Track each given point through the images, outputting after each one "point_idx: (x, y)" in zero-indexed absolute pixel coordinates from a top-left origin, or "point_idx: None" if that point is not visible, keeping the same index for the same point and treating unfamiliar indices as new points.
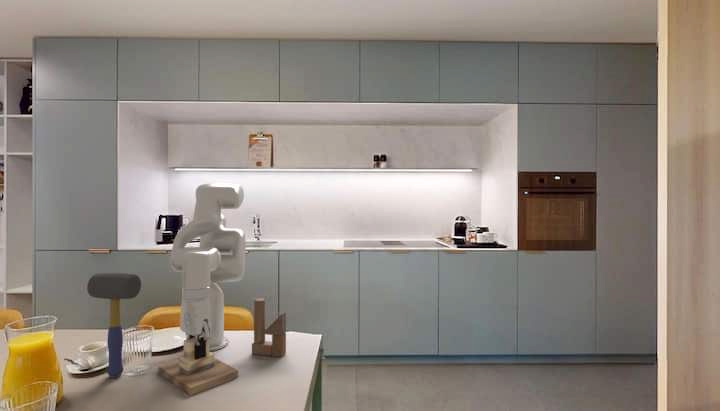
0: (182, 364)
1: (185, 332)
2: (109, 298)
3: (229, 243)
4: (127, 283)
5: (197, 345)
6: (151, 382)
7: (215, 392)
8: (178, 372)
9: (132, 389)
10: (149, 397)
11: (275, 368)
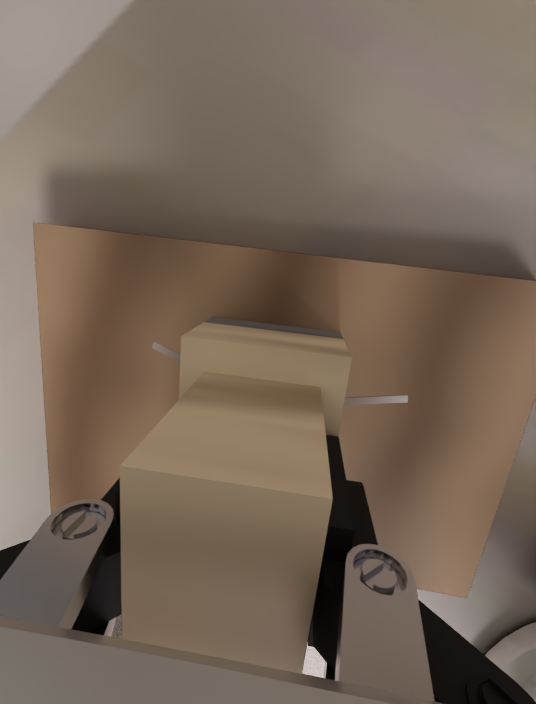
0: (283, 338)
1: (302, 678)
2: None
3: None
4: None
5: (95, 509)
6: (440, 168)
7: (8, 328)
8: (316, 311)
9: (465, 8)
10: (239, 37)
11: None
